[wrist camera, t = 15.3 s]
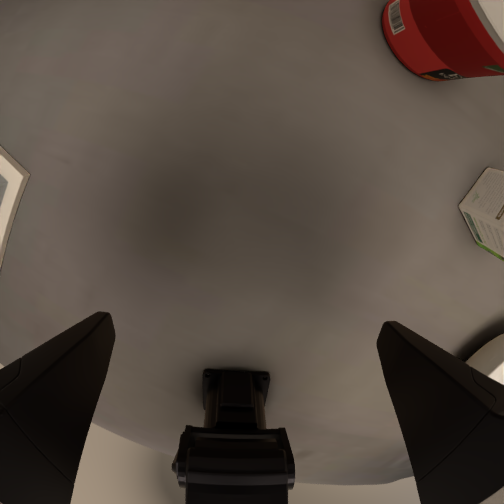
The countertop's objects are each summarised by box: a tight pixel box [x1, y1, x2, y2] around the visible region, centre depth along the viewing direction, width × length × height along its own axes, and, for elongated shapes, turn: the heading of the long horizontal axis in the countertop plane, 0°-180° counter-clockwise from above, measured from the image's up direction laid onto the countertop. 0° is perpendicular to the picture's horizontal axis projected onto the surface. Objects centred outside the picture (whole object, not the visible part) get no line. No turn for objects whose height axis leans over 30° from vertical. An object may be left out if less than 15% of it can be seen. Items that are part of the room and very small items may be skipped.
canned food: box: [382, 0, 504, 81], centre depth 10 cm, size 8×8×11 cm
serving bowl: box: [465, 334, 504, 385], centre depth 28 cm, size 21×21×7 cm
